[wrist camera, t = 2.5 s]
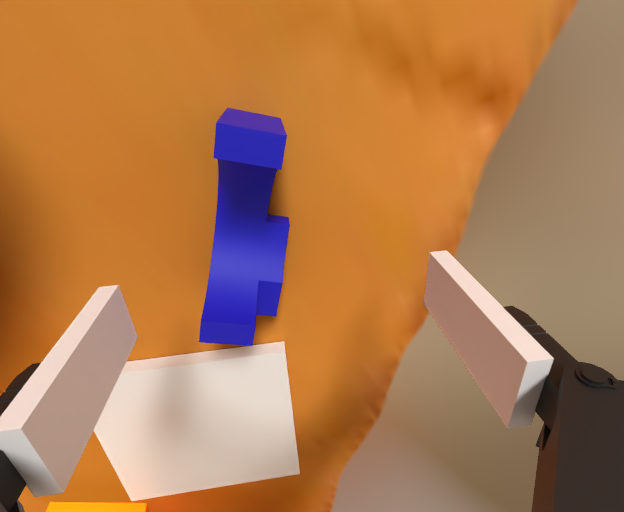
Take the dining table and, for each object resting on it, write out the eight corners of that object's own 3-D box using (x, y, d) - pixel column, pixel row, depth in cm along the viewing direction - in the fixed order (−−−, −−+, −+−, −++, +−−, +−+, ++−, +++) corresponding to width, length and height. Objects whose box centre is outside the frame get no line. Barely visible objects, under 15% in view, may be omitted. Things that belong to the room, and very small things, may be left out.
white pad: (135, 488, 35) (131, 501, 34) (74, 368, 27) (66, 380, 26) (298, 461, 36) (299, 473, 35) (284, 341, 29) (285, 351, 28)
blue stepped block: (274, 291, 27) (277, 347, 21) (211, 285, 26) (199, 342, 20) (305, 122, 21) (319, 142, 16) (227, 107, 20) (216, 122, 15)
